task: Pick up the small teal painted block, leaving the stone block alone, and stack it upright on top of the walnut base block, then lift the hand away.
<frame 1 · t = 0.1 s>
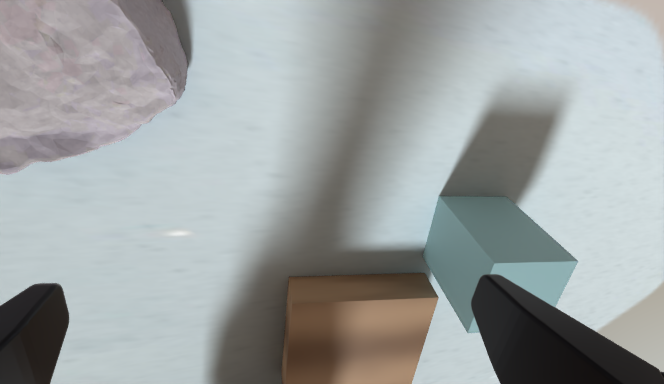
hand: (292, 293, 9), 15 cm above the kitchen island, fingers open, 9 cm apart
stone block: (47, 43, 19), on the kitchen island
teal block: (463, 227, 28), on the kitchen island
walnut base block: (348, 320, 31), on the kitchen island
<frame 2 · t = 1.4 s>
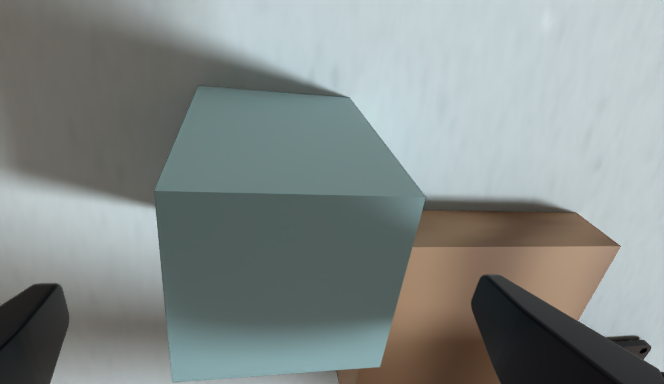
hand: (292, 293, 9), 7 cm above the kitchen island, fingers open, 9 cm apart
teal block: (272, 160, 15), on the kitchen island
walnut base block: (445, 291, 20), on the kitchen island
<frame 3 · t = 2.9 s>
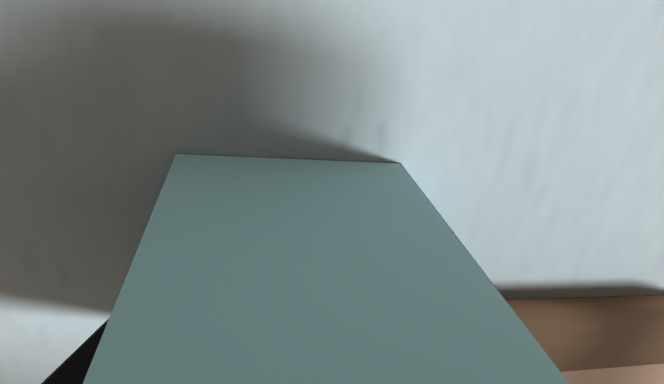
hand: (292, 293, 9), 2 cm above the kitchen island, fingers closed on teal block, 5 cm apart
teal block: (287, 249, 10), on the kitchen island, touching gripper
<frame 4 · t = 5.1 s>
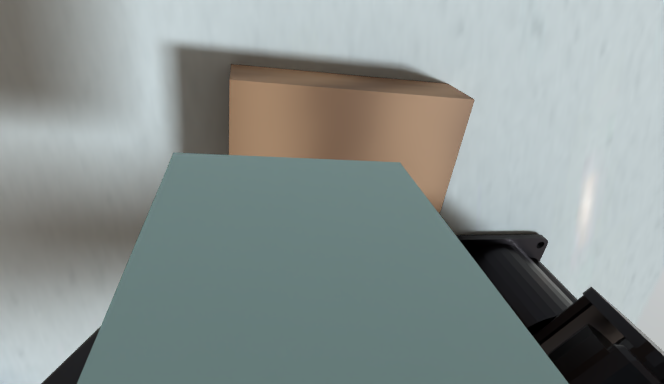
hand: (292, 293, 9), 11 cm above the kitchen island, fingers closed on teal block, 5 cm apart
teal block: (285, 249, 10), point 10 cm above the kitchen island, touching gripper
walnut base block: (330, 170, 21), on the kitchen island
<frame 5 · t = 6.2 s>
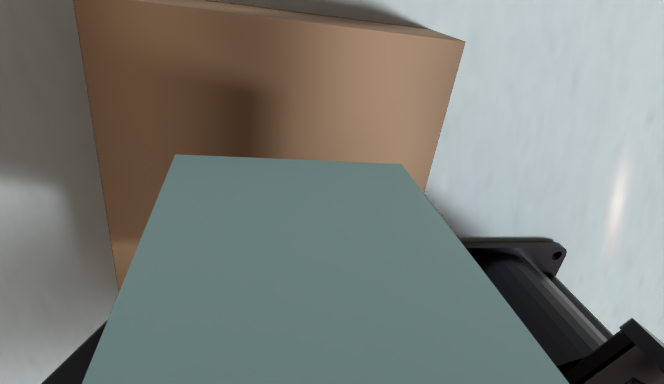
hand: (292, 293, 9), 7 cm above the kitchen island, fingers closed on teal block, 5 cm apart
teal block: (287, 250, 10), point 6 cm above the kitchen island, touching gripper
walnut base block: (271, 152, 15), on the kitchen island
when the fingers open (6 cm above the kitchen island, at t = 7.2 s): teal block drops 2 cm, point 2 cm above the kitchen island.
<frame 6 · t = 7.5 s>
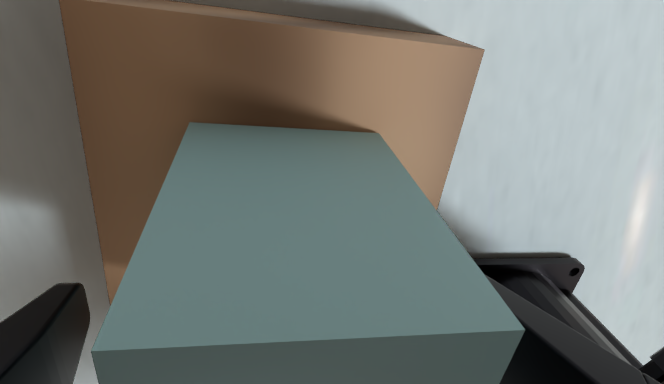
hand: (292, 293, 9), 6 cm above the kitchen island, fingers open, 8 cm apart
teal block: (282, 208, 12), point 2 cm above the kitchen island
walnut base block: (275, 164, 14), on the kitchen island
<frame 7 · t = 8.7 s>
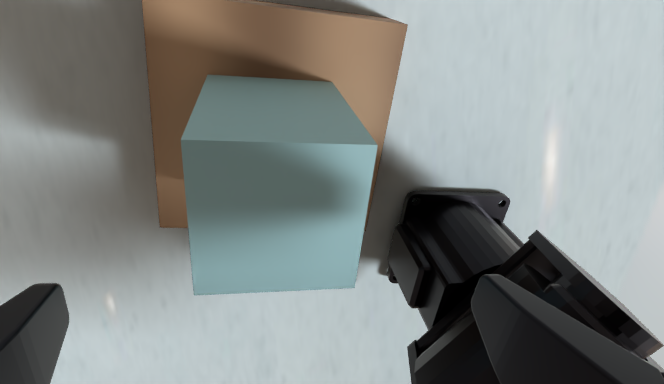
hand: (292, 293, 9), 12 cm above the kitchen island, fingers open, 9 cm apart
teal block: (270, 136, 17), point 2 cm above the kitchen island, touching walnut base block
walnut base block: (272, 112, 20), on the kitchen island, touching teal block
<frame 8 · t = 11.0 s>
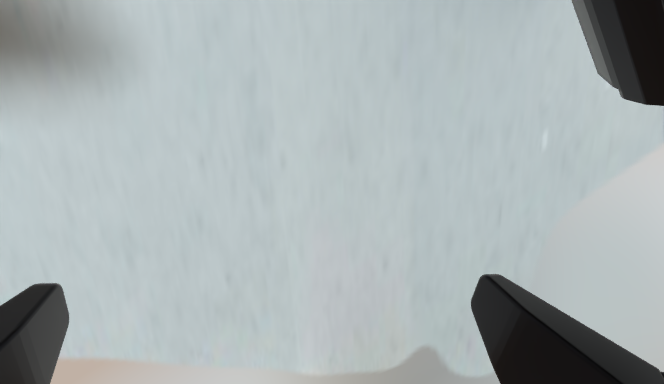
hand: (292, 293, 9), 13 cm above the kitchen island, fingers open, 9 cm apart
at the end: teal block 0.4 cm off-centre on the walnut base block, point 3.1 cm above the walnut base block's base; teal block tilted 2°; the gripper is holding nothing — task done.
